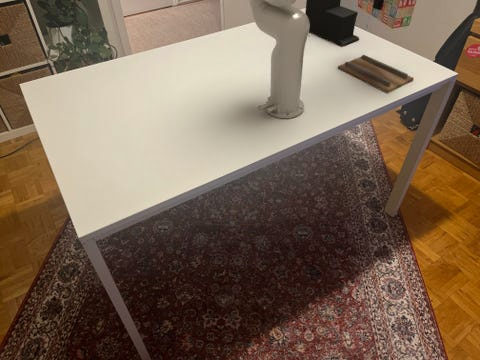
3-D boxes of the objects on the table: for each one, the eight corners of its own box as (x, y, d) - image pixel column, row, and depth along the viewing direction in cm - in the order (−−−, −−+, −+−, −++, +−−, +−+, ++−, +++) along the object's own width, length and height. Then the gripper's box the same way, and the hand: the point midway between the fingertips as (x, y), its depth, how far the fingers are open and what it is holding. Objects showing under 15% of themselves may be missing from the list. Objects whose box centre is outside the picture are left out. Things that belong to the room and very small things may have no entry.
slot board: (386, 93, 125) (388, 86, 123) (337, 68, 139) (338, 62, 137) (413, 80, 131) (415, 74, 129) (363, 57, 145) (364, 51, 143)
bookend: (359, 40, 156) (371, -21, 140) (341, 47, 152) (351, -14, 136) (320, 24, 171) (326, -33, 154) (303, 30, 166) (307, -28, 150)
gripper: (391, -51, 101) (377, 15, 113) (429, -61, 108) (412, 2, 120) (369, -55, 106) (358, 9, 118) (407, -65, 113) (393, -3, 125)
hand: (385, 5), depth 119 cm, fingers closed on stack of blocks, 7 cm apart
